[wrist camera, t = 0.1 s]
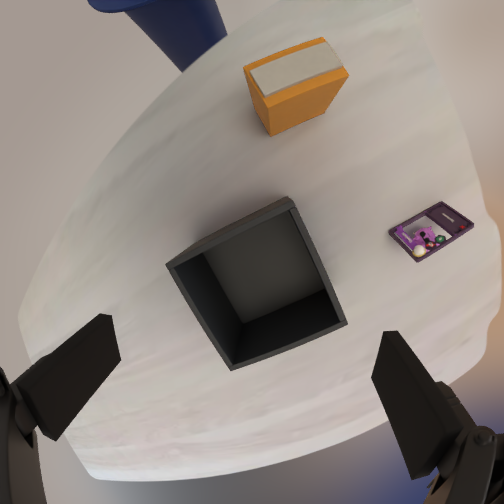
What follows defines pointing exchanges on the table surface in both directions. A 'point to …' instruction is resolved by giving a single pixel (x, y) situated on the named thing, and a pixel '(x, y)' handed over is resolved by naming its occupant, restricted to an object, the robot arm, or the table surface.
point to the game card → (425, 238)
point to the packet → (295, 84)
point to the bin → (258, 286)
